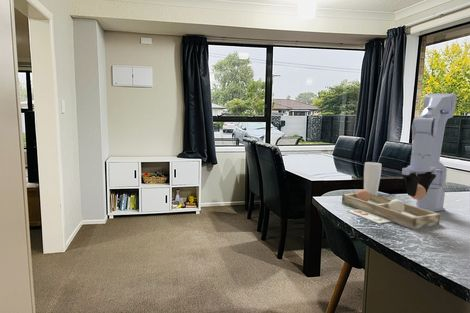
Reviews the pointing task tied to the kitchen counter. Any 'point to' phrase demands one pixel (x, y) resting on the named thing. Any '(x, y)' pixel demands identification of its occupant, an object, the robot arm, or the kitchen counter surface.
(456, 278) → the kitchen counter surface
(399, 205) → the cream ball
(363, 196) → the ball
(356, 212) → the card
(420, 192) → the terracotta ball
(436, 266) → the kitchen counter surface
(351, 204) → the two-well rack
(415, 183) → the robot arm
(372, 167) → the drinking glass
